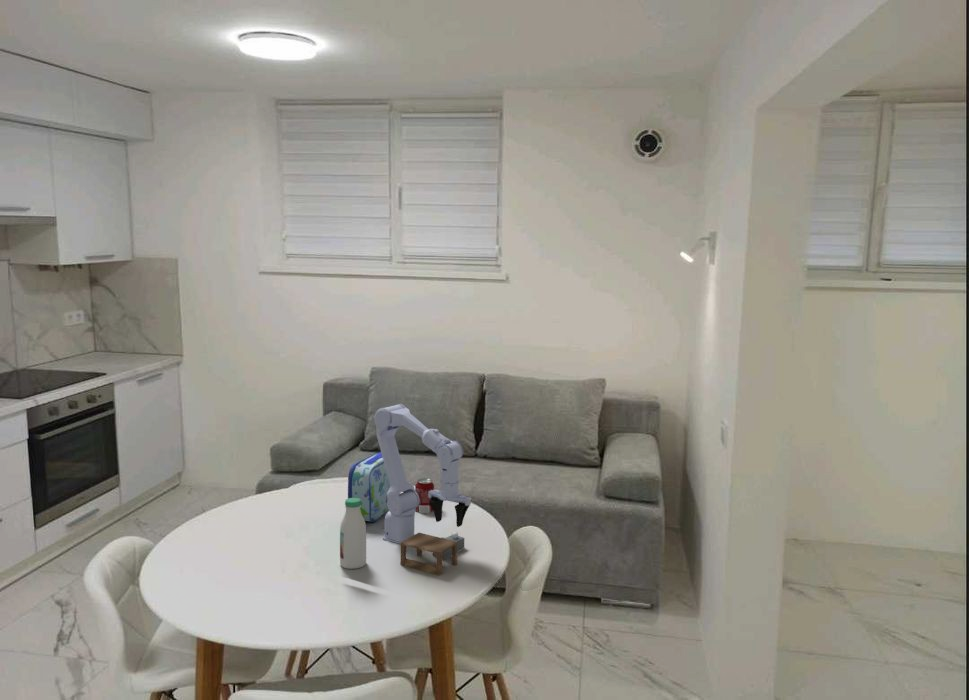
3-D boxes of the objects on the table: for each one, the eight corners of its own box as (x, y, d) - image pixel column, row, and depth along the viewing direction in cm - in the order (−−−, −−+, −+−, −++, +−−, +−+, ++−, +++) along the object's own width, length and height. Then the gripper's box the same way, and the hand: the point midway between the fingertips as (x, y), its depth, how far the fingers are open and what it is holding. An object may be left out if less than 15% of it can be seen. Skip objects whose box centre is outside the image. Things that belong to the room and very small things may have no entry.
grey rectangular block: (432, 556, 230) (433, 538, 229) (453, 546, 238) (453, 529, 237) (443, 559, 227) (444, 542, 227) (464, 549, 235) (464, 532, 235)
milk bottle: (370, 561, 225) (370, 497, 222) (358, 571, 217) (358, 505, 215) (348, 557, 227) (348, 494, 225) (335, 567, 220) (334, 502, 217)
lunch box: (375, 500, 280) (375, 446, 278) (401, 503, 277) (402, 448, 275) (343, 523, 255) (343, 464, 253) (372, 527, 253) (372, 467, 250)
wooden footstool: (400, 564, 223) (400, 542, 222) (418, 554, 231) (418, 532, 230) (439, 575, 216) (440, 552, 215) (456, 564, 224) (457, 541, 223)
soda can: (430, 516, 264) (431, 484, 262) (412, 515, 265) (413, 482, 264) (436, 510, 270) (436, 478, 269) (418, 508, 272) (418, 477, 270)
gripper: (422, 480, 230) (422, 522, 232) (462, 488, 223) (462, 531, 225) (435, 474, 236) (435, 515, 238) (474, 482, 229) (474, 524, 231)
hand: (449, 523), depth 232 cm, fingers open, 7 cm apart
